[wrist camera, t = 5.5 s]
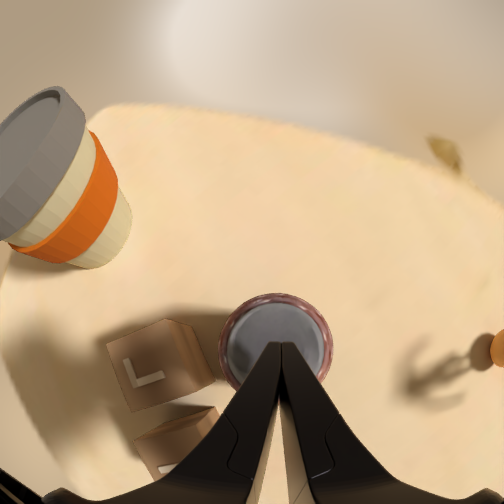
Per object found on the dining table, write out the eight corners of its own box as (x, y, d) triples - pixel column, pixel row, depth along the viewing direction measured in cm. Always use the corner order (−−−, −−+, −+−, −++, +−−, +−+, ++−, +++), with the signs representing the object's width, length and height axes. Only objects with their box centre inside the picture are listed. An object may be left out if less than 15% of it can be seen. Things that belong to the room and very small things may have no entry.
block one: (186, 470, 18) (162, 500, 12) (161, 423, 19) (128, 442, 13) (241, 455, 18) (230, 487, 12) (215, 406, 20) (194, 425, 14)
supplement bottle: (308, 309, 22) (342, 272, 11) (314, 380, 20) (355, 410, 9) (235, 315, 22) (201, 283, 11) (240, 386, 20) (208, 423, 9)
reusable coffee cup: (101, 310, 23) (-26, 260, 9) (43, 250, 26) (-45, 191, 12) (171, 204, 26) (99, 87, 12) (101, 167, 29) (37, 82, 15)
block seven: (161, 400, 20) (127, 413, 14) (140, 348, 22) (101, 344, 16) (215, 381, 20) (195, 392, 15) (191, 326, 22) (164, 318, 16)
